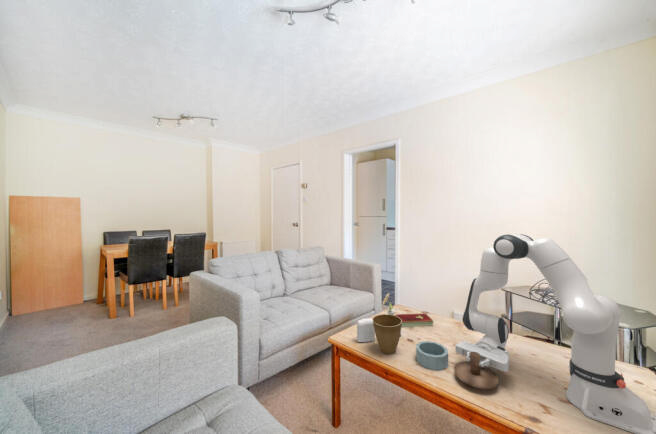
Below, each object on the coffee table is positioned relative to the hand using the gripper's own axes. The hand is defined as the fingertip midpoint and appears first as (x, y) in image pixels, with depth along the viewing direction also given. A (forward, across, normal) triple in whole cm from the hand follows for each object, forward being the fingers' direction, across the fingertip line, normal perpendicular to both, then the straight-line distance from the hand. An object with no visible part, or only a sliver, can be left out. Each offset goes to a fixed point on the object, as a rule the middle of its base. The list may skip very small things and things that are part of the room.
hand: (474, 362), depth 105 cm
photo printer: (+8, -53, +8) cm, 55 cm away
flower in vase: (-8, -48, +8) cm, 50 cm away
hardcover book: (-32, -48, +9) cm, 58 cm away
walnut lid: (-1, 0, +6) cm, 6 cm away
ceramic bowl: (-1, -19, +8) cm, 21 cm away
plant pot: (+7, -39, +8) cm, 41 cm away
